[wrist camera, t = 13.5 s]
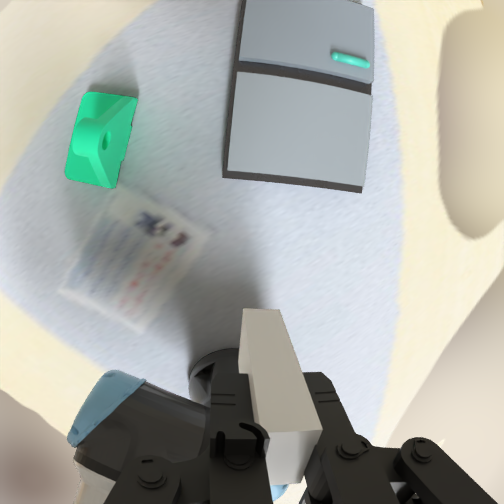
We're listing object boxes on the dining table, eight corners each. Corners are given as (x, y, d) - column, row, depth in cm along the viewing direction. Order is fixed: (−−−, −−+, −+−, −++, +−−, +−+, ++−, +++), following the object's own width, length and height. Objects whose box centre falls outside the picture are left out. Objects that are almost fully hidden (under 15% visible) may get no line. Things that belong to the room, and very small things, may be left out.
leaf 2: (359, 185, 38) (364, 186, 37) (227, 169, 36) (227, 170, 35) (367, 97, 35) (372, 95, 33) (236, 75, 33) (237, 71, 31)
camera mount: (91, 94, 34) (57, 79, 24) (140, 101, 35) (114, 84, 26) (71, 176, 37) (33, 183, 27) (118, 186, 38) (87, 195, 29)
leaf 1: (368, 84, 34) (377, 79, 31) (238, 60, 32) (239, 53, 30) (369, 12, 31) (377, 5, 28) (248, -14, 29) (250, -23, 26)
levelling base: (352, 191, 41) (361, 193, 38) (222, 176, 39) (222, 177, 36) (363, 15, 33) (372, 8, 31) (243, -9, 31) (245, -19, 29)
